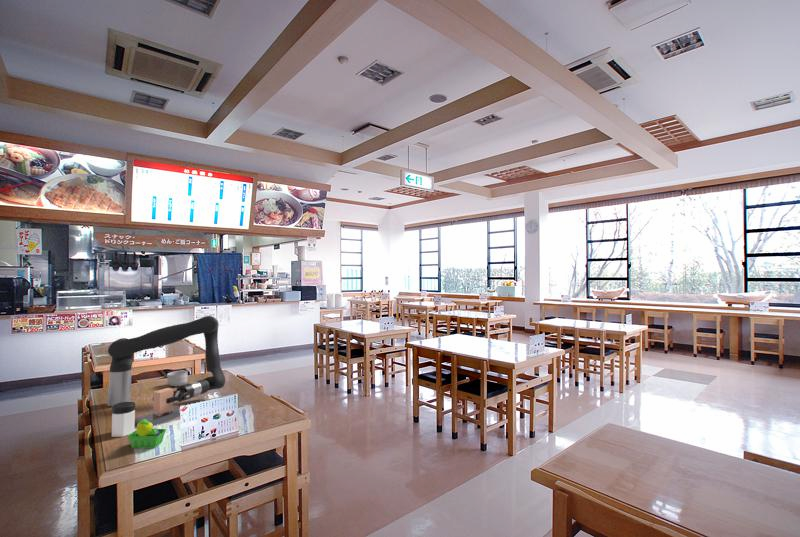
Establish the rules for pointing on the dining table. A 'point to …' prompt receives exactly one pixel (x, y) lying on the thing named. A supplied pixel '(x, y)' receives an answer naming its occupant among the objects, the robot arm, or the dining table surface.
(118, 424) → the jar
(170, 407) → the light brown rectangular block
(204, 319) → the robot arm
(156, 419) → the grey flat block
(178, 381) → the teacup
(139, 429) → the fruit basket
